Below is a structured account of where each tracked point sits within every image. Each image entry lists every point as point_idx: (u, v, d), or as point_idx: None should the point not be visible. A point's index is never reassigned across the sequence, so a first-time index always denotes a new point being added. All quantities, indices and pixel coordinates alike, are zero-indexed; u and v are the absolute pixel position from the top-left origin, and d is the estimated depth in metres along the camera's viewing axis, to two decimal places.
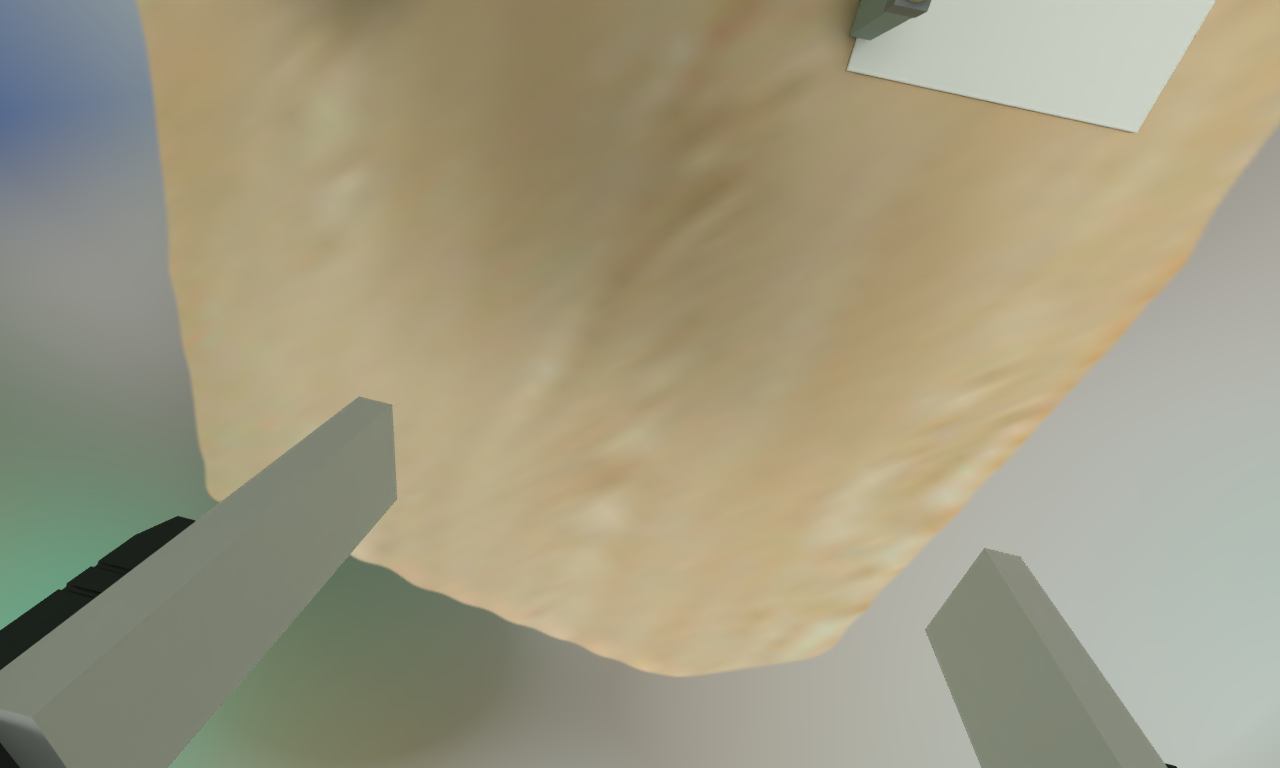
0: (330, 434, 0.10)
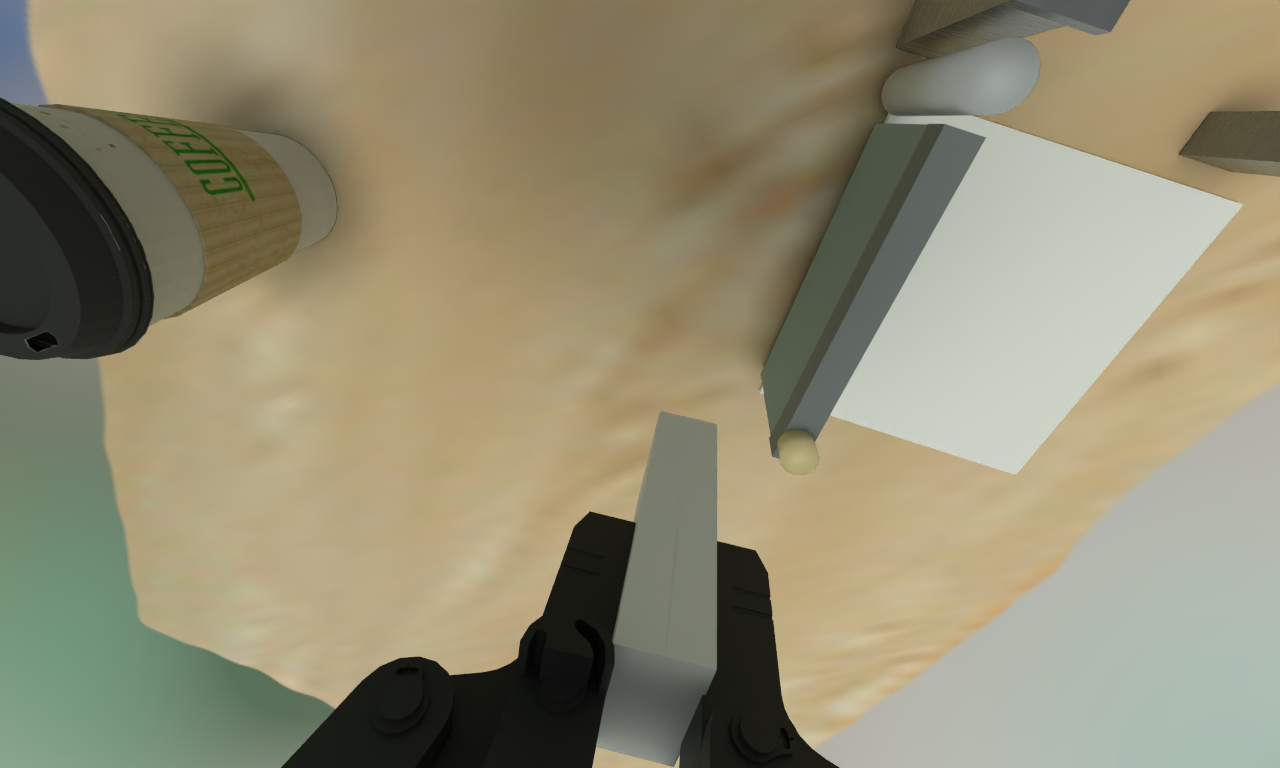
0: (667, 444, 0.12)
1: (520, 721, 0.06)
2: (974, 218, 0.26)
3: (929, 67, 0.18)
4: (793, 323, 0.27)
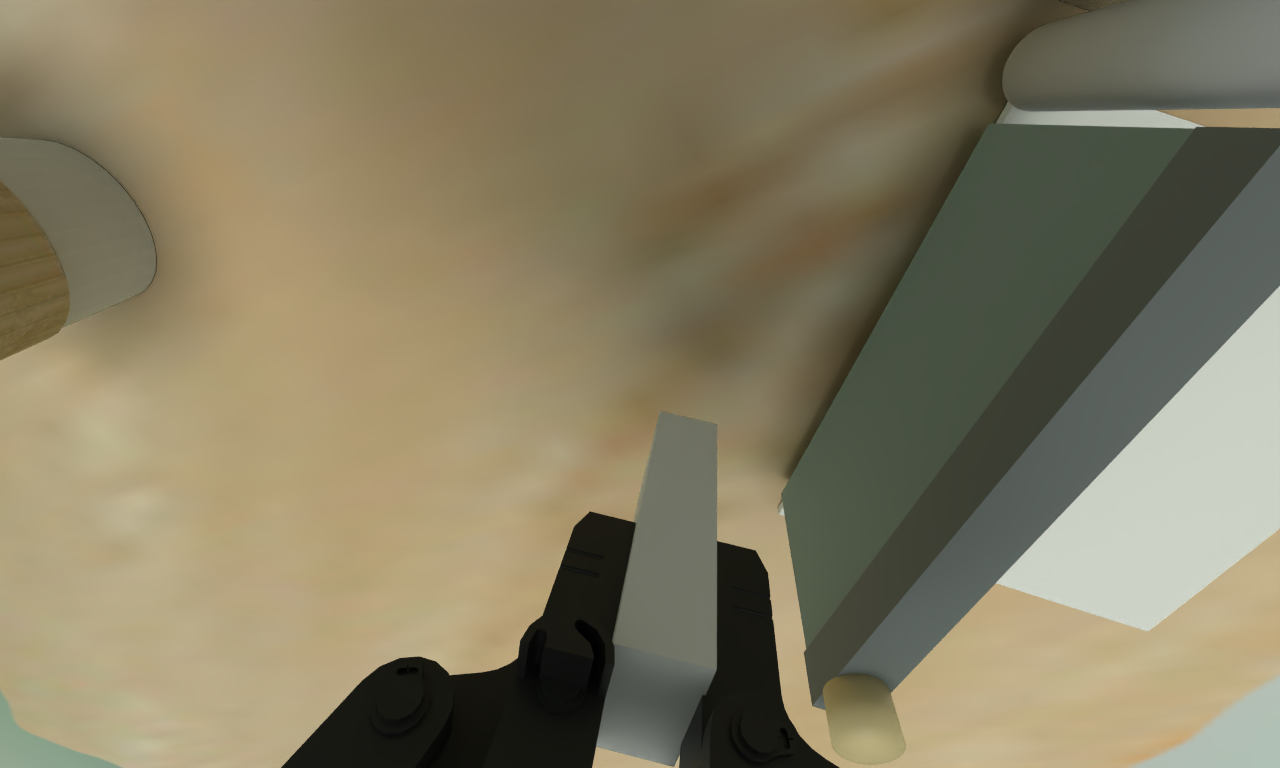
0: (667, 444, 0.12)
1: (520, 721, 0.06)
2: None
3: (1173, 5, 0.09)
4: (837, 439, 0.17)
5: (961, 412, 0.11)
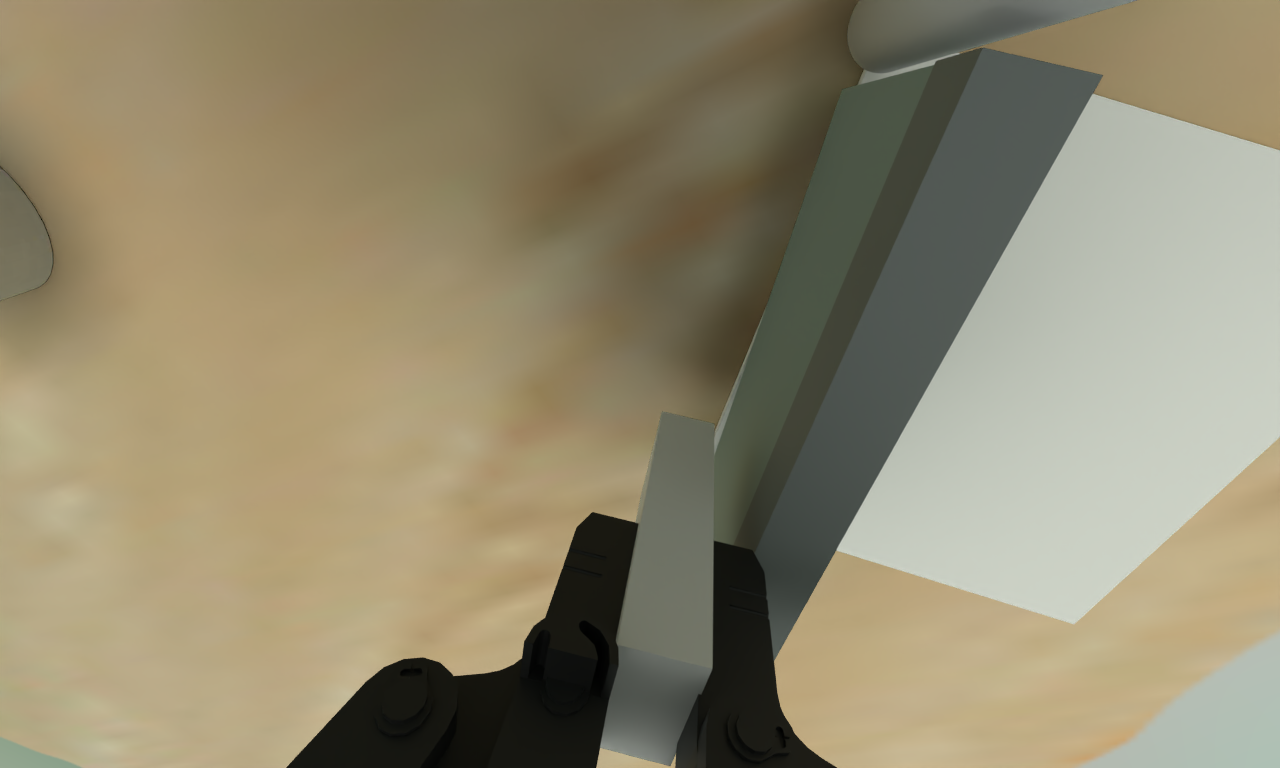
0: (670, 444, 0.12)
1: (524, 722, 0.06)
2: (1015, 250, 0.15)
3: None
4: (734, 428, 0.16)
5: (793, 388, 0.11)
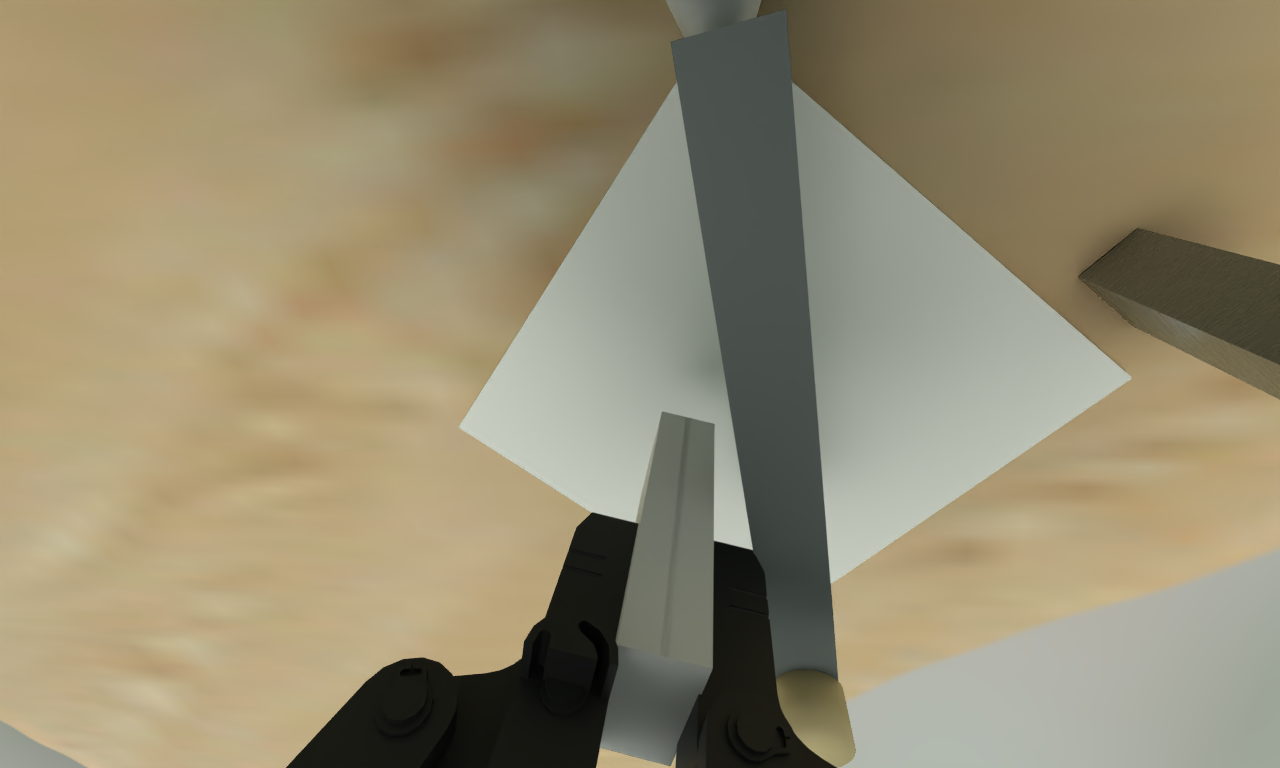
0: (670, 444, 0.12)
1: (524, 722, 0.06)
2: None
3: None
4: None
5: None
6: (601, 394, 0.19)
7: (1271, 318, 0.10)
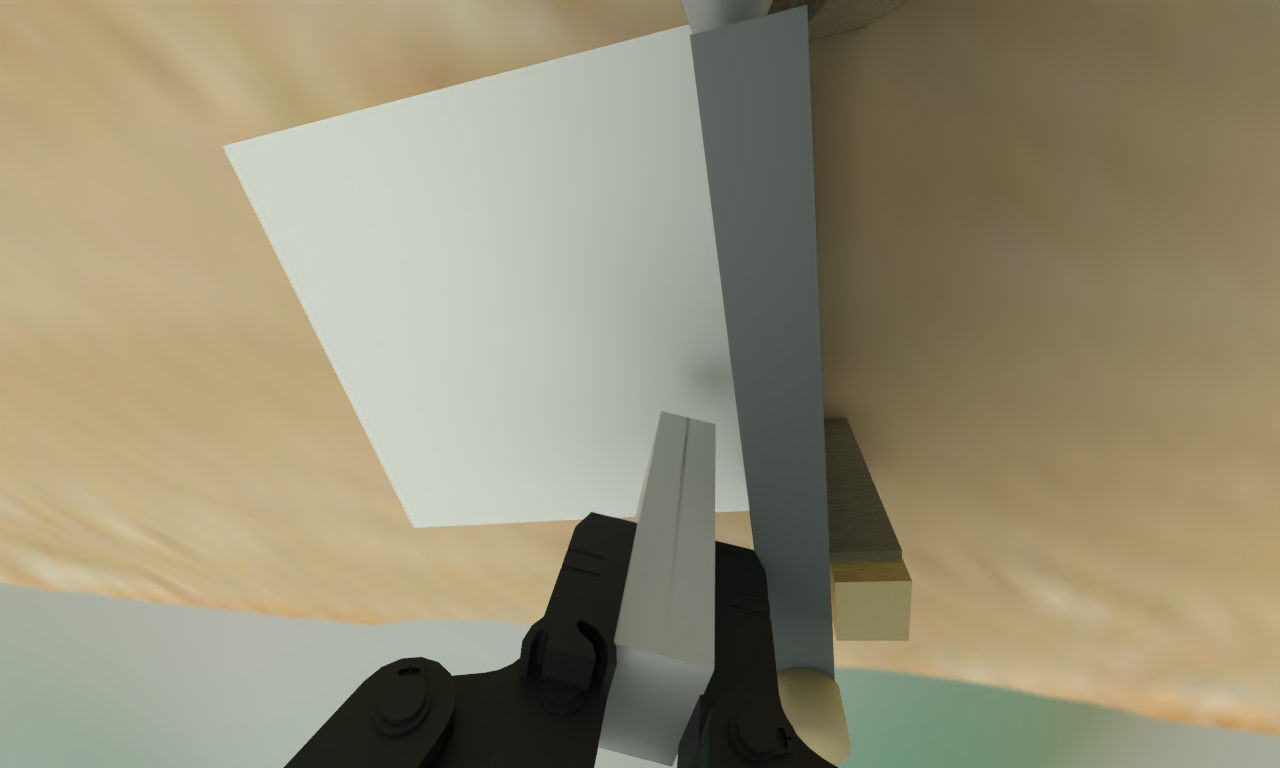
0: (669, 444, 0.12)
1: (522, 721, 0.06)
2: (627, 265, 0.17)
3: None
4: None
5: None
6: (402, 234, 0.18)
7: (848, 518, 0.14)
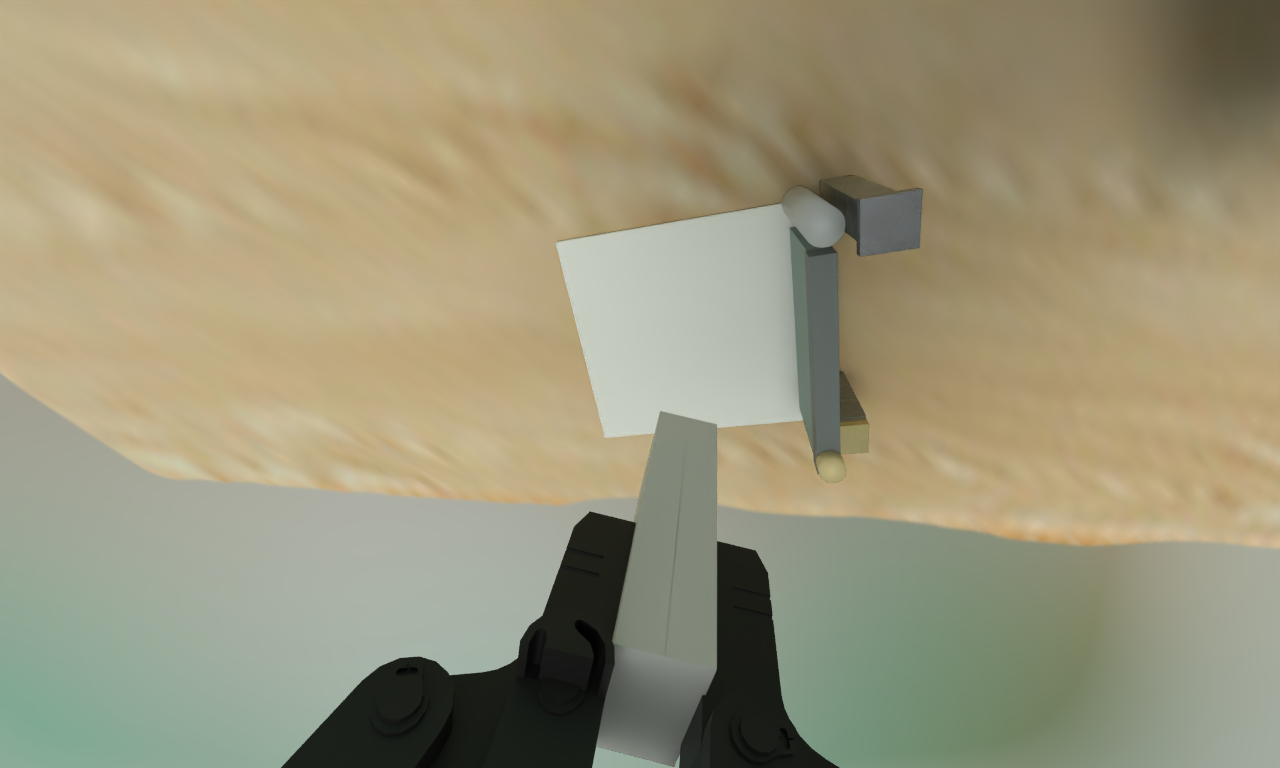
0: (667, 444, 0.12)
1: (520, 721, 0.06)
2: (743, 298, 0.37)
3: (793, 212, 0.29)
4: (800, 370, 0.36)
5: (808, 343, 0.31)
6: (635, 283, 0.38)
7: (844, 407, 0.34)
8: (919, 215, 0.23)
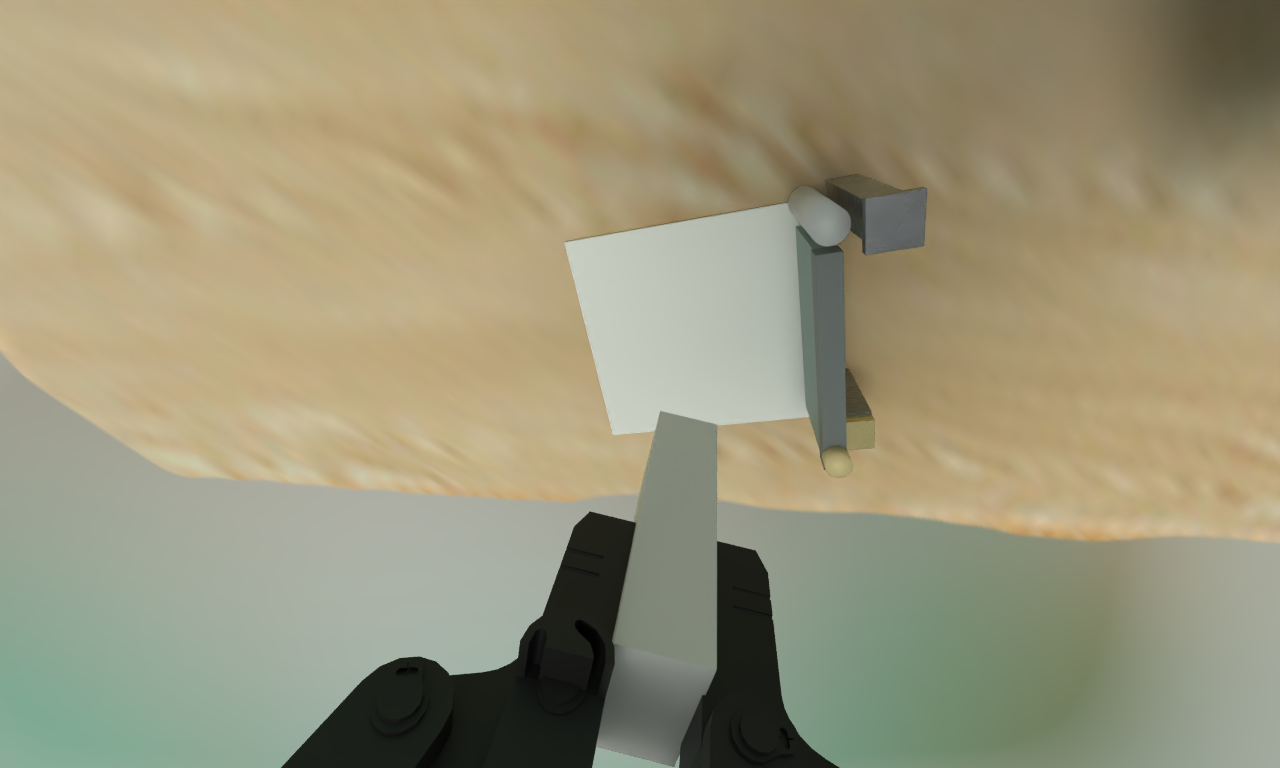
0: (668, 444, 0.12)
1: (520, 721, 0.06)
2: (749, 296, 0.37)
3: (799, 211, 0.29)
4: (806, 368, 0.37)
5: (814, 341, 0.31)
6: (643, 282, 0.38)
7: (850, 403, 0.35)
8: (924, 214, 0.23)
